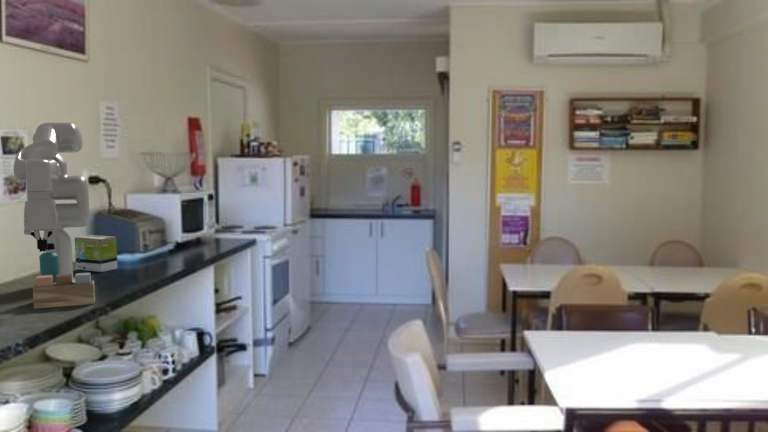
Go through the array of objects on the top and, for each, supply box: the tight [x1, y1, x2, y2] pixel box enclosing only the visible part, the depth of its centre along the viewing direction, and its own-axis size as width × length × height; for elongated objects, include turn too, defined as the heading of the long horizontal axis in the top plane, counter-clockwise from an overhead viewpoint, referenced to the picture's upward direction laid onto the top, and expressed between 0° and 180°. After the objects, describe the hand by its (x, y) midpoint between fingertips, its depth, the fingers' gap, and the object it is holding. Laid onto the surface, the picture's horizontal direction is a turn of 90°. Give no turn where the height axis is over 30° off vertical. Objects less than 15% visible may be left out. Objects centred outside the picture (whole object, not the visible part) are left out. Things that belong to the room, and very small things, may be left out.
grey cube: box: [74, 272, 92, 285], centre depth 241 cm, size 5×5×5 cm
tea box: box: [74, 234, 118, 273], centre depth 310 cm, size 15×10×15 cm
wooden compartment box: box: [32, 280, 96, 309], centre depth 240 cm, size 7×19×7 cm, turn 109°
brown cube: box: [56, 274, 72, 286], centre depth 239 cm, size 5×5×5 cm
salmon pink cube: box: [35, 275, 53, 287], centre depth 237 cm, size 5×5×5 cm
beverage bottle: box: [38, 243, 60, 283], centre depth 248 cm, size 6×7×20 cm
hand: (42, 251), depth 236 cm, fingers closed
